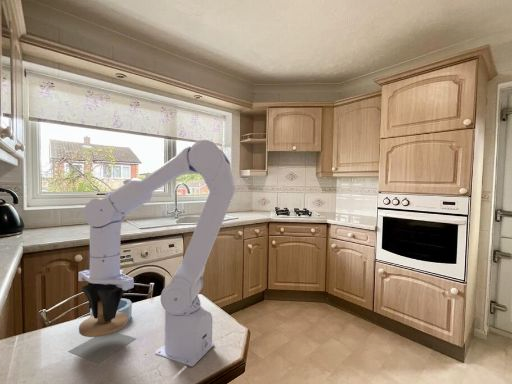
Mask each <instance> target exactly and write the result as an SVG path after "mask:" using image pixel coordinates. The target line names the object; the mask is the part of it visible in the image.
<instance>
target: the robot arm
mask: <svg viewBox="0 0 512 384" xmlns="http://www.w3.org/2000/svg"><path fill="white" fill-rule="evenodd" d="M189 174H190V175H197V174H198V175H200V176H201V177H202V179H203V181H204V183H205V184H206V187H207V189H208V191H209V194H208V196H207V198H206V201H205V203H204V206H203V207H202V208H203V209H202V211H201V214H200V216H199V218H198V221H197V223H196V226H195V229H194V231H193V234H192V235H191V238H190V240H189V244H188V246H187V248H186V251H185V253H184V256H183V258H182V261H181V263H180V264H179V266H178V268H177V269H176V271H175V272H174V275H173V277H172V279H171V281H170V282H169V283H168V284H167V285H166V286H164V288H163V289H162V291H161V293H160V303H161V306H162V307H163V309H164V345H162V346H161V347H159V348H158V349H157V350H155V352H154V355H157V356H159V357H163V358H166V359H169V360H170V361H174V362H177V363H182V364H184V365H186V366H188V367H194V366H195V365H196V364H197V363H198V362H199V361H200V360H201V359H202V358H203V357H204V356H205V355H206V353H208V352H209V351H210V350H211V348H213V347H214V346H215V342H214V341H213V316H212V313H211V312H210V311H208V310H206V309H205V308H203V307H202V306H201V301H200V300H201V299H200V297H199V294H200V293H201V291H202V289H203V286H204V280H203V278H204V277H203V276H204V274H205V270H206V264H207V262H208V260H209V257H210V254H211V251H212V249H213V247H214V244H215V242H216V239H217V237H218V234H219V232H220V230H221V228H222V224H223V222H224V219H225V217H226V214H227V213H228V209H229V207H230V204H231V203H232V200H233V197H234V194H235V191H236V189H235V188H236V187H235V181H234V179H233V172H232V166H231V162H230V160H229V159H228V157H227V156H226V154H225V152H224V151H223V150H222V149H220V148H219V147H218V145H217V144H216V143H215V142H213V141H211V140H208V139H201V140H198V141H196V142H195V143H193V144H192V145H191V146H187V147H185V148H183V150H182V151H180V152H179V153H178V154H176V155H175V156H174V157H173V158H171V159H170V160H168V161H167V162H165V163H164V164H163V165H161V166H160V167H158V168H157V169H155V170H154V171H152V172H151V173H149V175H147V176H145V177H144V178H143V179H141V178H137V177H136V178H126V179H125V180H123V181H122V183H123V185H121V186H119V187H118V188H116V189H114V190H113V191H107V192H105V193H104V197H103V198H97V197H95V198H91V199H90V200H89V202H88V203H86V205H85V206H84V209H83V212H82V213H83V219H84V220H85V222H86V223H87V225H89V269H85V270H81V271H78V278H77V279H78V280H77V281H78V282H84V281H86V282H88V283H87V284H86V285H84V286H82V287H81V291H82V292H83V294H84V295H85V296H86V298H87V301H88V303H89V306H90V308H91V309H92V313H93V316H94V318H95V319H97V318H98V301H100V300H101V302H102V306H103V317H104V321H106V322H108V321H110V320H112V319H114V318H115V316H116V312H117V309H118V305H119V302H120V300H121V298H123V295H124V293H125V291H128V290H131V289H133V288H135V287H134V286H135V285H134V284H135V283H134V282H135V281H134V280H135V279H134V277H130V276H128V275H126V274H124V273H125V271H124V270H123V269H121V239H122V238H121V235H122V234H121V232H122V231H121V230H122V224H123V221H124V220H125V218H126V217H127V215H130V214H131V213H132V212H134V211H135V210H138V209H139V208H141V207H142V206H143V205H145V204H146V203H148V202H149V201H151V199H152V195H153V194H154V193H153V192H155V191H157V190H158V189H160V188H162V187H164V186H166V185H167V184H169V183H170V182H172V181H175V180H176V179H178V178H179V177H181V176H183V175H189Z"/></svg>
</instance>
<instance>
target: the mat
mask: <svg viewBox="0 0 512 384" xmlns="http://www.w3.org/2000/svg"><path fill="white" fill-rule="evenodd" d="M135 340H137V338H136V337H132V336H130V335H126V334H123V333H120V332H118V331H116V332H114V333H111V334H108V335H104V336H99V337H91V339H88V340H86V341H84V342H83V343H81V344H79V345H77V346H76V347H73V348H72V349H71V348H70V350H68V351H67V352H68V353H71V354H73V355H76V356H79V357H81V358H84V359H85V360H89V361H91V362H94V363H96V364H100V363H101V362H103V361H104V360H106V359H108V358H109V357H110V356H112V355H114V354H115V353H117V352H118V351H120V350H122V349H123V348H124V347H126V346H128V345H129V344H131V343H133V342H134V341H135Z"/></svg>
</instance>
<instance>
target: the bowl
mask: <svg viewBox="0 0 512 384" xmlns="http://www.w3.org/2000/svg"><path fill="white" fill-rule="evenodd" d="M132 308H133V302H132V301H131V300H130V299H129V298H128V299H127V298H125V297H124V298H123V297H122V298H121V300H120V302H119V305H118V309H117V312H123V313H125V314H127V315H128V322H130V320H131V317H132V315H133V314H132ZM92 316H93V313H92V309H91V307H90V308H89V318H90V317H92Z"/></svg>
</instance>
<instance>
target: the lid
mask: <svg viewBox="0 0 512 384" xmlns="http://www.w3.org/2000/svg"><path fill="white" fill-rule="evenodd" d="M128 322H129V321H128V315H127V314H125V313H123V312H116V316H115V318H114V319H112V320H110V321H108V322H106V321H104V317H103V306H102V302H101V300H100V301H98V318H97V319H95V318H94V316H92V317H90V316H89V317H88V318H86V319H85V320H83V321H82V322H81V323H80V324H79V326H78V332H79V335H81V336H83V337H87V338H94V337H99V336H104V335H108V334H111V333H114V332H118V331H120V330H122V329H124V327H125V326H127V324H128Z"/></svg>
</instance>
